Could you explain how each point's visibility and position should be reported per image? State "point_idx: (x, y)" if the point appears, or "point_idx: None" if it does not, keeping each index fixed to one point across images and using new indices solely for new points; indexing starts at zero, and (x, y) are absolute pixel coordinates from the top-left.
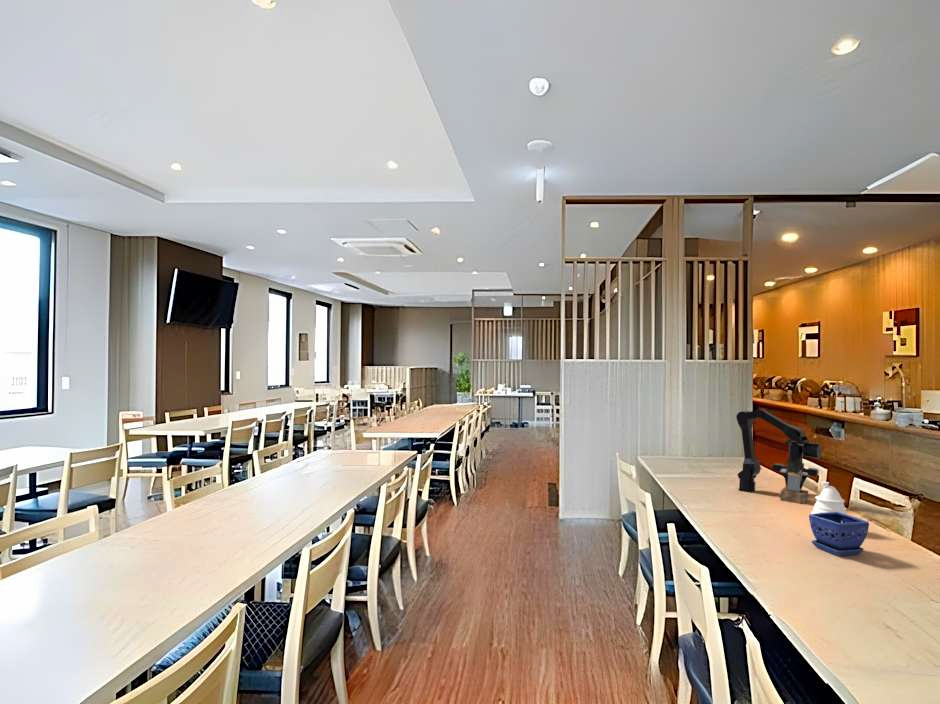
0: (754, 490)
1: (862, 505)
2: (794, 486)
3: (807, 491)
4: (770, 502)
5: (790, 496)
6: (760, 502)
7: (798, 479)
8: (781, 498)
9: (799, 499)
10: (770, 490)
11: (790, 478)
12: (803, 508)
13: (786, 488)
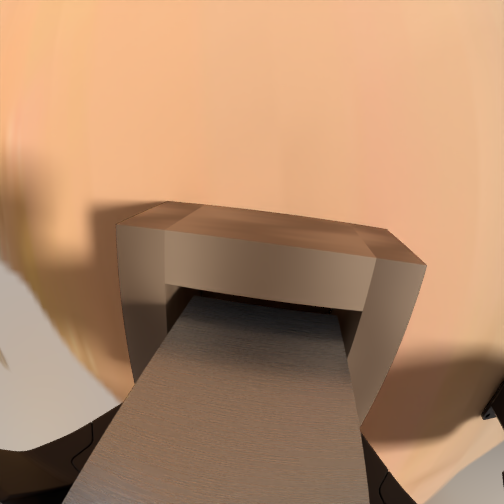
0: (488, 405)
1: (3, 361)
2: (238, 366)
3: None
4: (453, 81)
5: (297, 231)
6: (500, 50)
7: (120, 462)
8: (384, 232)
9: (199, 213)
10: (392, 465)
11: (310, 497)
12: (169, 24)
13: None
